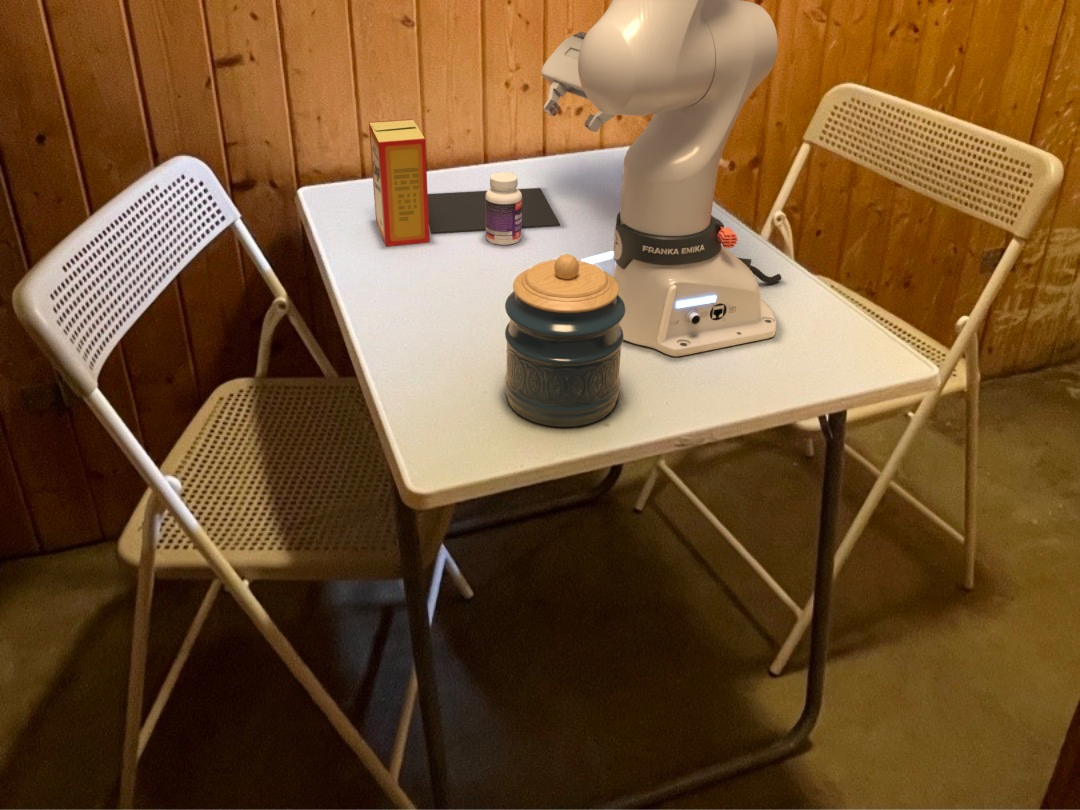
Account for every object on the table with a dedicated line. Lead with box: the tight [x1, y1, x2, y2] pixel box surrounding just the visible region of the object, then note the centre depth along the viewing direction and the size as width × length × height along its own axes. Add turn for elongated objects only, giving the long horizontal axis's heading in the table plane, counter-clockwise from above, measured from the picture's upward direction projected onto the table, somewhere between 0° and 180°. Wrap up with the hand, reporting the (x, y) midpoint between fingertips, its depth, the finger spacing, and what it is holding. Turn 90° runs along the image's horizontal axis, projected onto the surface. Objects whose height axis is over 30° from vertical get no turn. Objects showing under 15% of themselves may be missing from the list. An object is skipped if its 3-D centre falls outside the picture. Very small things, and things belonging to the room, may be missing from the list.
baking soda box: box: [368, 118, 431, 248], centre depth 149 cm, size 10×6×16 cm
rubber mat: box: [428, 187, 561, 235], centre depth 161 cm, size 20×16×1 cm
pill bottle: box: [485, 171, 523, 246], centre depth 150 cm, size 5×5×10 cm
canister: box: [504, 253, 626, 428], centre depth 110 cm, size 13×13×18 cm
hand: (568, 120), depth 150 cm, fingers open, 8 cm apart
